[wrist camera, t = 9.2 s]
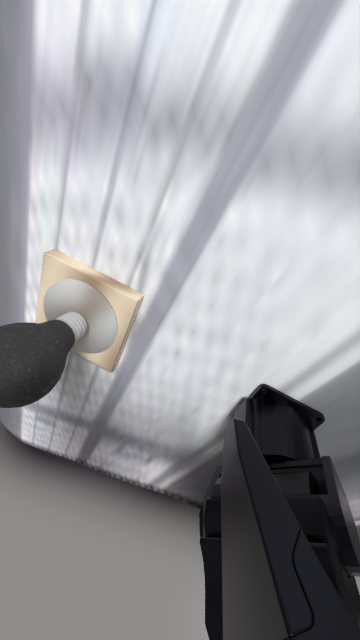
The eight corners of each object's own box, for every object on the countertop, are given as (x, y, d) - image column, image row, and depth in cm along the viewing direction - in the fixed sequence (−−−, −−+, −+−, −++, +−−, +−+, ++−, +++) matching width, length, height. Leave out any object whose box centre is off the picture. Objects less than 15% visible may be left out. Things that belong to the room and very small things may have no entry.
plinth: (144, 295, 23) (136, 302, 21) (117, 363, 27) (109, 373, 26) (55, 249, 23) (42, 253, 21) (44, 324, 27) (32, 332, 26)
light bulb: (62, 343, 25) (-37, 419, 17) (47, 290, 23) (-79, 347, 14) (112, 348, 24) (32, 435, 15) (101, 292, 22) (-2, 357, 13)
